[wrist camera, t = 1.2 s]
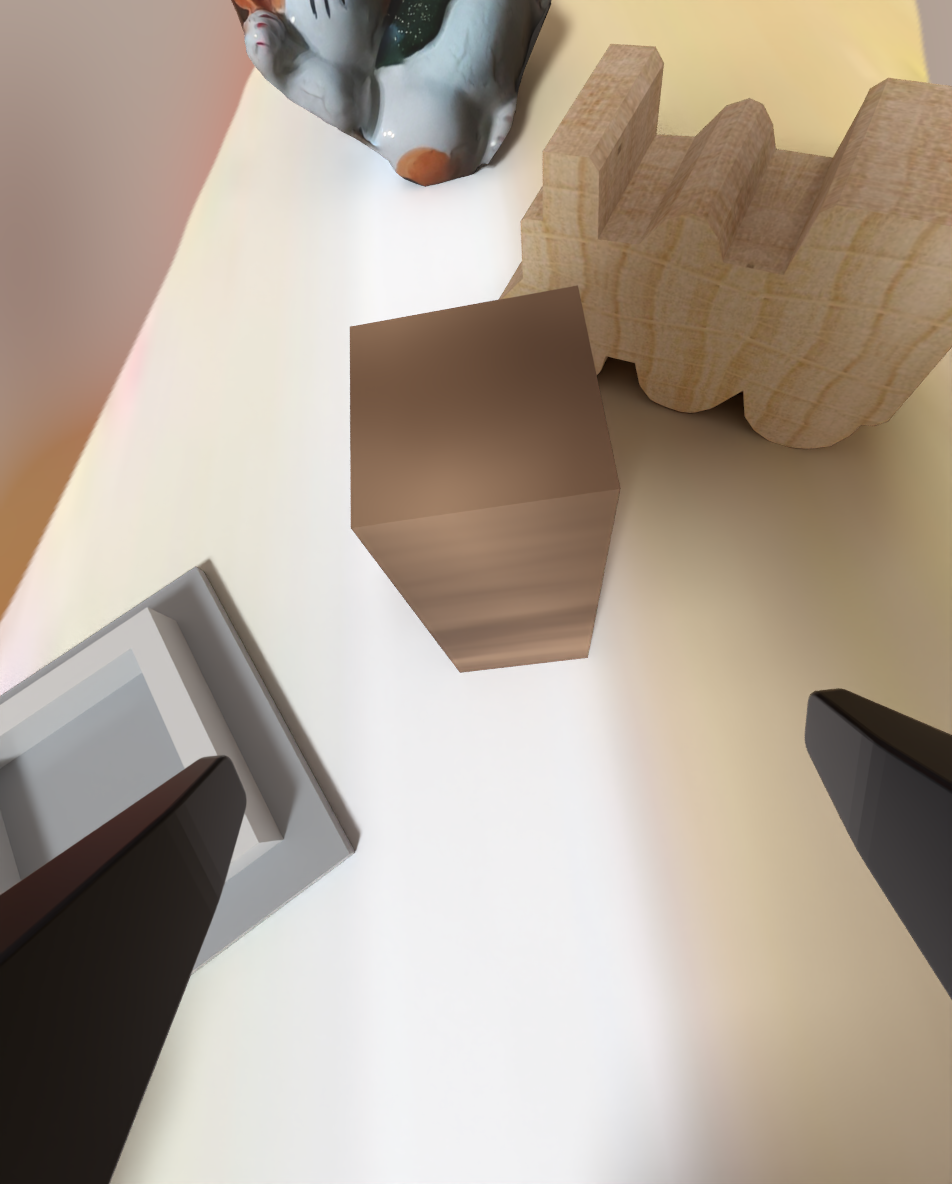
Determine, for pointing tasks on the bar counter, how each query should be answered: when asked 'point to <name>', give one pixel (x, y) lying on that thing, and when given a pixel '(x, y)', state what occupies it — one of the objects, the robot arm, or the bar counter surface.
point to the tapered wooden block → (486, 474)
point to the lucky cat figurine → (401, 72)
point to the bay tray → (162, 752)
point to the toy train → (752, 251)
